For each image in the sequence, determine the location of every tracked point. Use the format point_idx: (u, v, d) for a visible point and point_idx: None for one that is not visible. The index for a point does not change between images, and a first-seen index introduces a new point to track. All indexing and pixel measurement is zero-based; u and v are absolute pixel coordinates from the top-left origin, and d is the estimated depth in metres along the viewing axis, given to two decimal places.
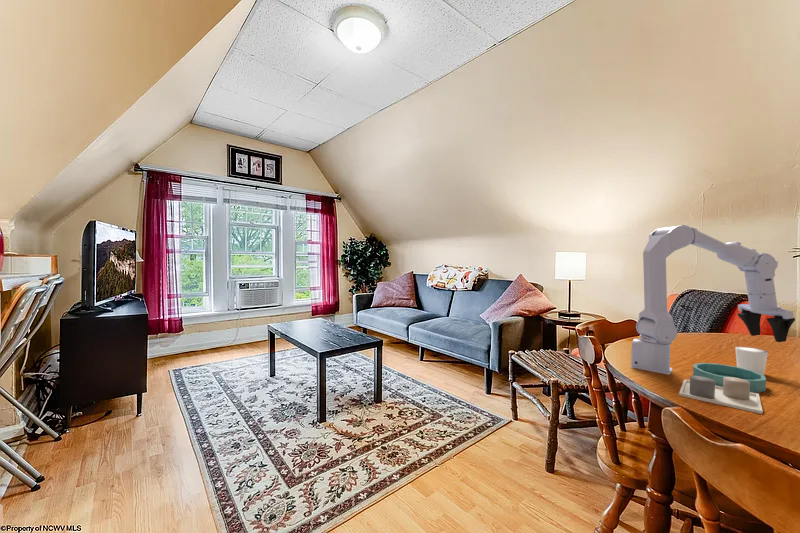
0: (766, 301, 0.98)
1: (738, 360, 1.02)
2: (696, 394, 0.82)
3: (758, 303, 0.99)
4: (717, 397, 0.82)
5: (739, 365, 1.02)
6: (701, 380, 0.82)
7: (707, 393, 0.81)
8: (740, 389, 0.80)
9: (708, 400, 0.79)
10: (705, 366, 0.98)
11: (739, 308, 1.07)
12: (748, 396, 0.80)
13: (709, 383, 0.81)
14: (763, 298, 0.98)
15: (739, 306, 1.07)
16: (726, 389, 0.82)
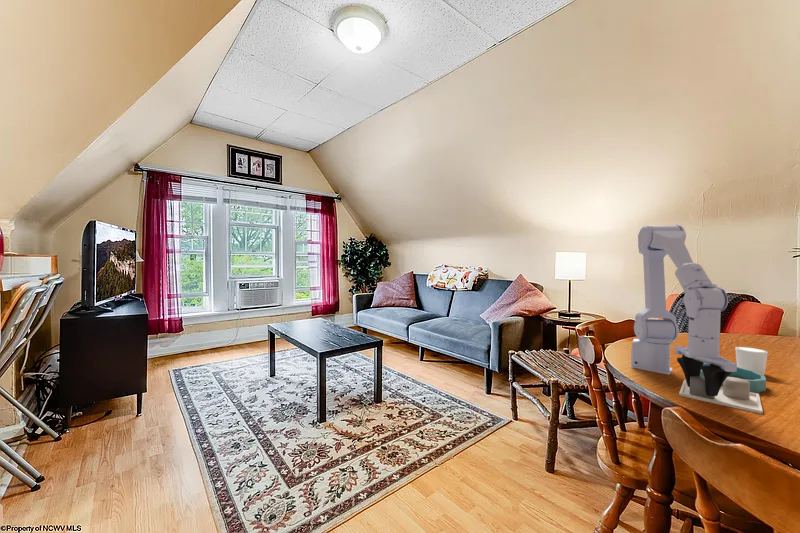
0: None
1: (738, 360, 1.02)
2: (696, 394, 0.82)
3: None
4: (717, 397, 0.82)
5: (739, 365, 1.02)
6: (701, 380, 0.82)
7: None
8: (740, 389, 0.80)
9: (708, 400, 0.79)
10: None
11: None
12: (748, 396, 0.80)
13: None
14: None
15: None
16: (726, 389, 0.82)
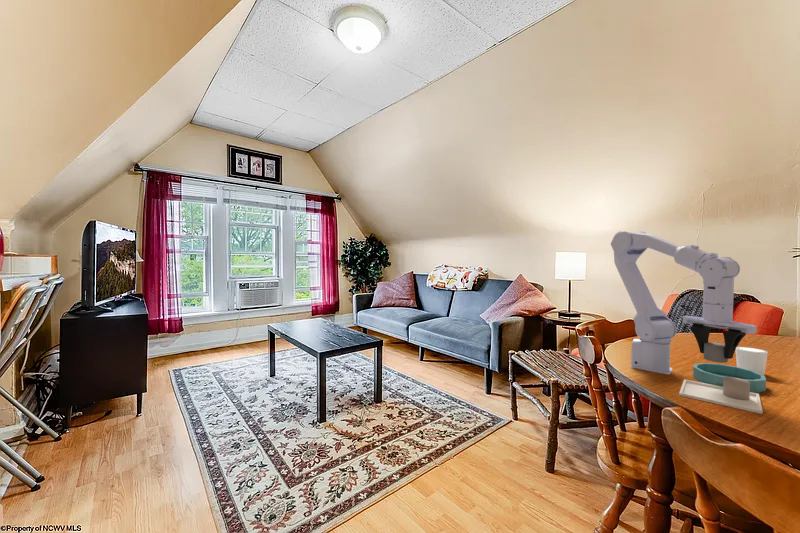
0: None
1: (738, 360, 1.02)
2: (715, 360, 0.87)
3: None
4: (717, 397, 0.82)
5: (739, 365, 1.02)
6: (717, 346, 0.87)
7: (724, 357, 0.86)
8: (740, 389, 0.80)
9: (708, 400, 0.79)
10: (705, 366, 0.98)
11: None
12: (748, 396, 0.80)
13: None
14: None
15: None
16: (726, 389, 0.82)
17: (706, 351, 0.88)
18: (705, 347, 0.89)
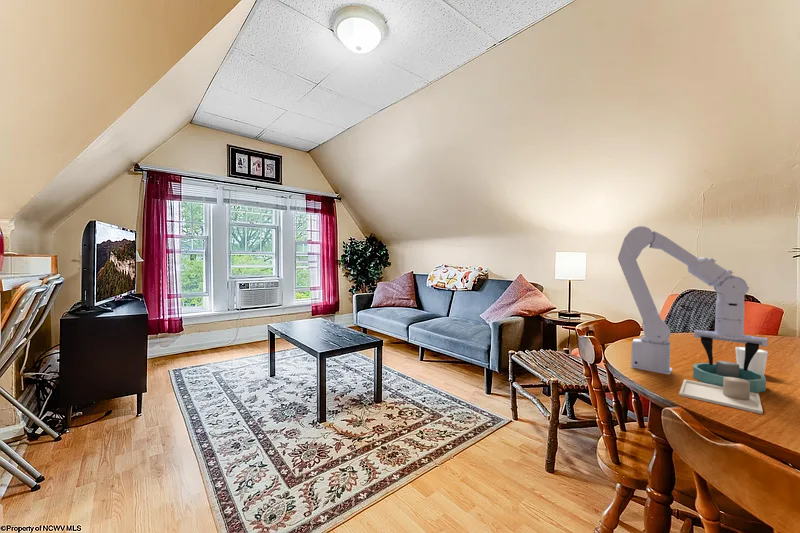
0: None
1: (738, 360, 1.02)
2: None
3: None
4: (717, 397, 0.82)
5: (739, 365, 1.02)
6: (732, 365, 0.93)
7: (738, 375, 0.92)
8: (740, 389, 0.80)
9: (708, 400, 0.79)
10: (705, 366, 0.98)
11: None
12: (748, 396, 0.80)
13: None
14: None
15: None
16: (726, 389, 0.82)
17: (722, 370, 0.93)
18: (720, 366, 0.94)
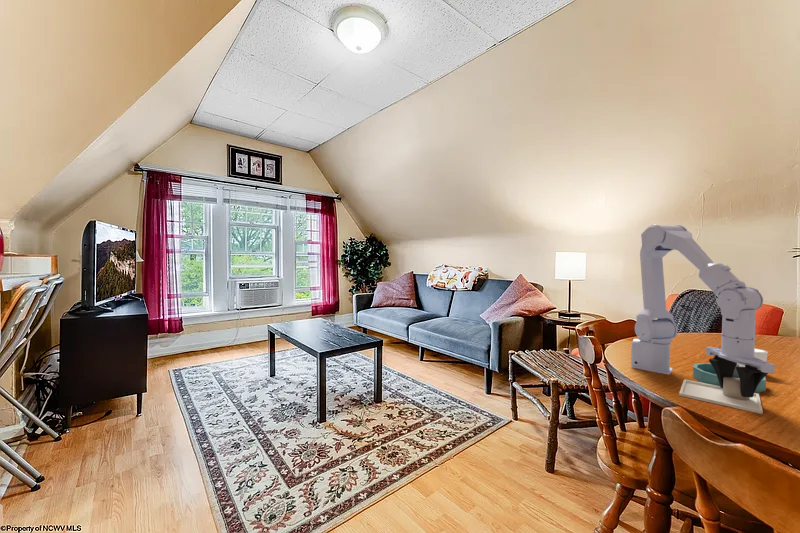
0: None
1: None
2: None
3: None
4: (717, 397, 0.82)
5: (739, 365, 1.02)
6: None
7: (738, 375, 0.92)
8: None
9: (708, 400, 0.79)
10: (705, 366, 0.98)
11: None
12: None
13: None
14: None
15: None
16: (726, 389, 0.82)
17: None
18: None
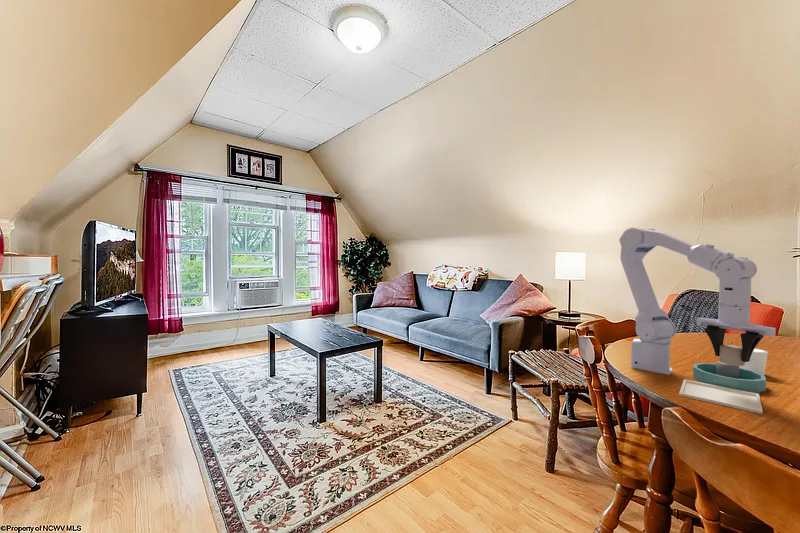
0: None
1: None
2: None
3: None
4: (717, 397, 0.82)
5: None
6: None
7: (738, 375, 0.92)
8: (741, 355, 0.84)
9: (708, 400, 0.79)
10: (705, 366, 0.98)
11: None
12: None
13: None
14: None
15: None
16: (726, 357, 0.85)
17: (722, 370, 0.93)
18: (720, 366, 0.94)
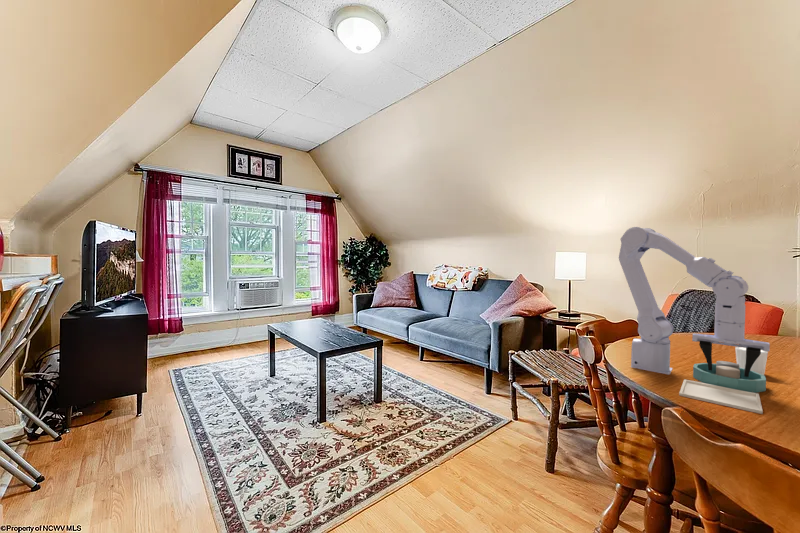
0: None
1: (738, 360, 1.02)
2: None
3: None
4: (717, 397, 0.82)
5: (739, 365, 1.02)
6: (732, 365, 0.93)
7: None
8: (738, 377, 0.87)
9: (708, 400, 0.79)
10: (705, 366, 0.98)
11: None
12: None
13: None
14: None
15: None
16: None
17: None
18: None
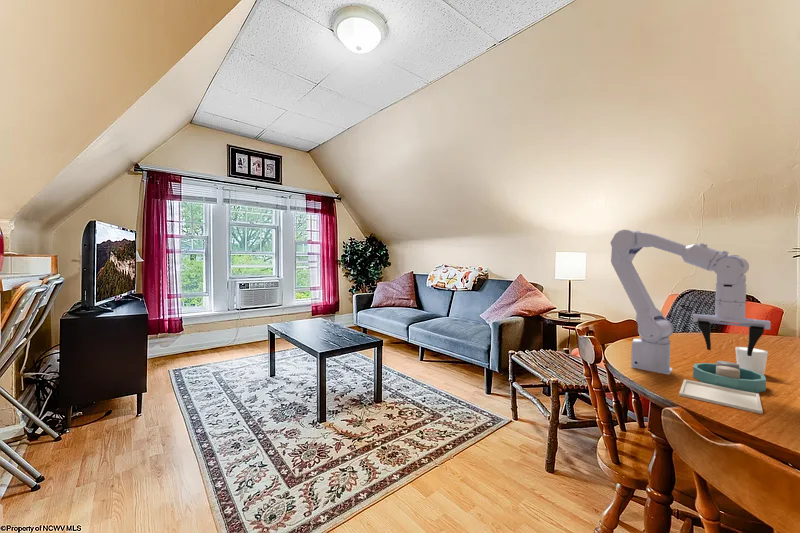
0: None
1: (738, 360, 1.02)
2: None
3: None
4: (717, 397, 0.82)
5: (739, 365, 1.02)
6: (732, 365, 0.93)
7: None
8: (738, 377, 0.87)
9: (708, 400, 0.79)
10: (705, 366, 0.98)
11: None
12: None
13: None
14: None
15: None
16: None
17: None
18: None
